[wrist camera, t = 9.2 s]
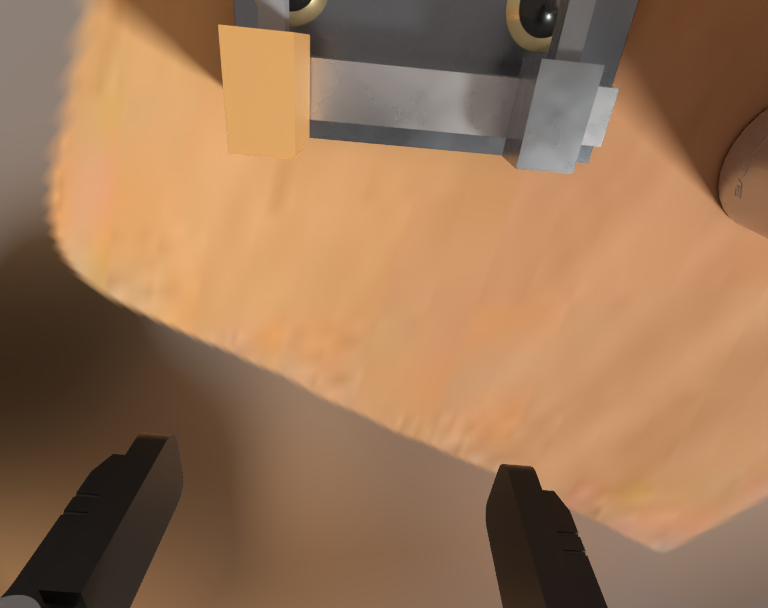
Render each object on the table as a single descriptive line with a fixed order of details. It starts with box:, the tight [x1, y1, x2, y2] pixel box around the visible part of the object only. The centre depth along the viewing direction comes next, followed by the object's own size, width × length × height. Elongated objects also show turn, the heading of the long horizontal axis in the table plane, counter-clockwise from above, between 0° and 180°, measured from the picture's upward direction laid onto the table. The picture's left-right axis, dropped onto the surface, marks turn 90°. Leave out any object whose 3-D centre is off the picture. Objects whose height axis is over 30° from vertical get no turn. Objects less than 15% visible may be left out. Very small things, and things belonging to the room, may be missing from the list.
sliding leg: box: [218, 0, 310, 160], centre depth 22 cm, size 3×8×7 cm, turn 175°
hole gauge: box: [234, 0, 638, 174], centre depth 23 cm, size 22×12×7 cm, turn 85°
